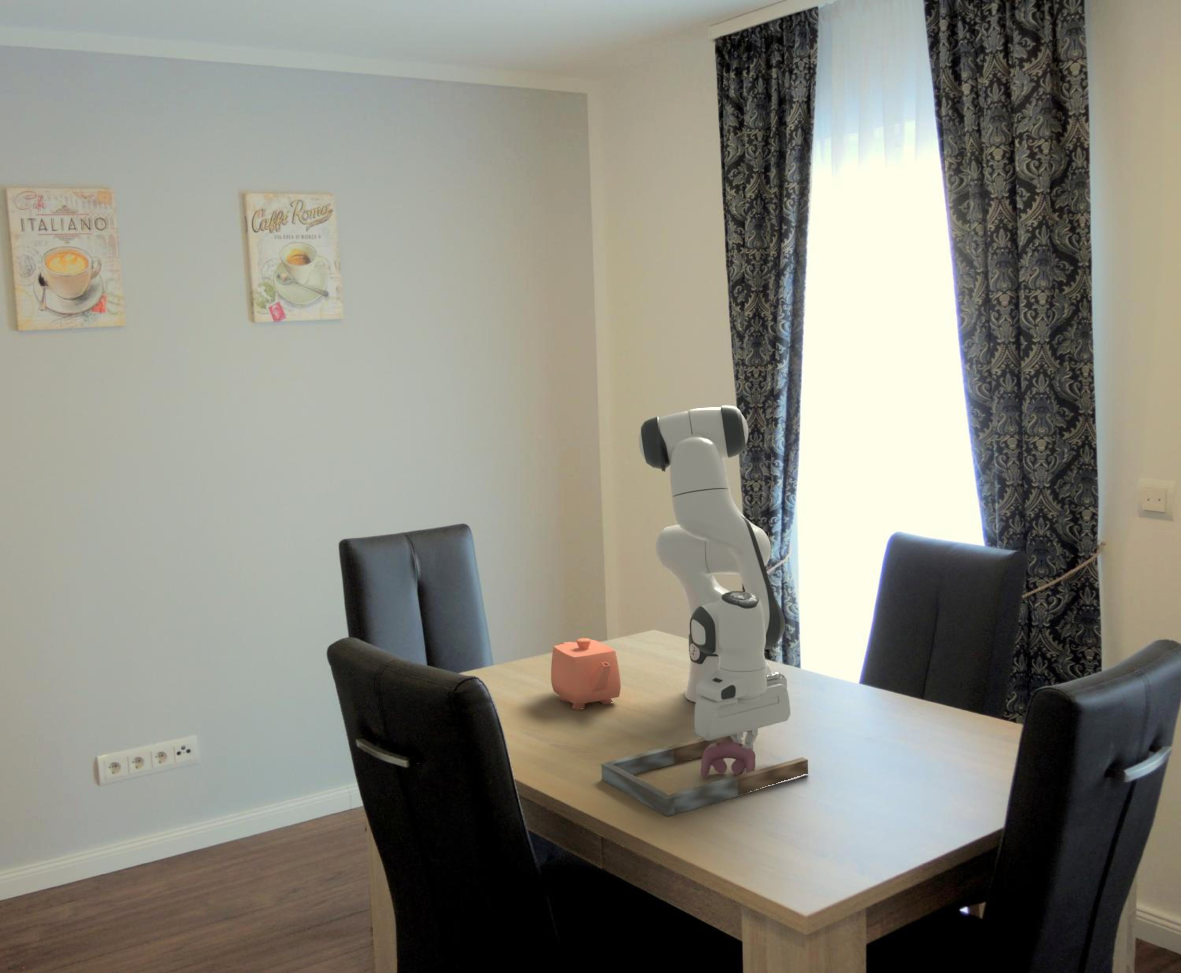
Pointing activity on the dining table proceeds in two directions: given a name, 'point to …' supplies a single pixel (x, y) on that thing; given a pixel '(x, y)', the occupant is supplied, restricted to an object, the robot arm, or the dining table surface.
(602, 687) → the teapot
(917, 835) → the dining table surface
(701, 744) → the u-shaped rail frame
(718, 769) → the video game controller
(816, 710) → the dining table surface
